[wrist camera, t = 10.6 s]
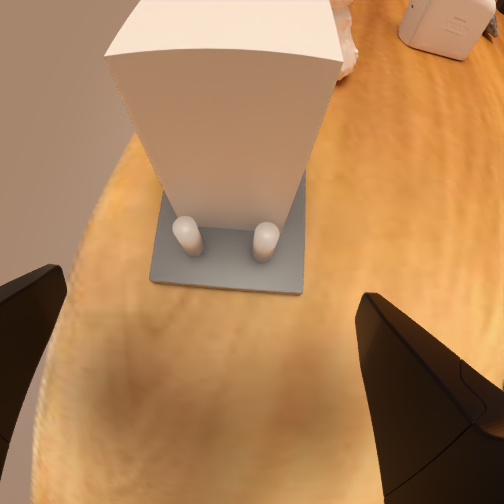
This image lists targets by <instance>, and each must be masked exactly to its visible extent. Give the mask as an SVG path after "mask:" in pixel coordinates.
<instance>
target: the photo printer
mask: <svg viewBox="0 0 504 504" xmlns="http://www.w3.org/2000/svg"><path fill="white" fill-rule="evenodd" d="M495 10H496V3H495V0H410V2H409V5H408V7H407V9H406V12H405V14H404V16H403V19H402V21H401V23H400V26H399V33H398V35H399V38H400V39H401V40H402V41H403V42H404V43H405V44H406V45H408V46H410V47H413V48H416V49H420V50H423V51H427V52H431V53H435V54H438V55H442V56H446V57H449V58H453V59H457V60H464V59H465V58H466V57H467V56H468V54H469V53H470V51H471V50H472V48H473V47H474V45H475V44H476V42H477V41H478V39H479V38H480V36H481V35H482V33H483V31H484V30H485V28H486V27H487V25H488V23H489V22H490V20H491V19H492V17H493V15H494V13H495Z"/></svg>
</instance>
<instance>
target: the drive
mask: <svg viewBox="0 0 504 504" xmlns="http://www.w3.org/2000/svg"><path fill="white" fill-rule="evenodd" d="M104 58H105V60H106V63H107V65H108V68H109V70H110V72H111V75H112V77H113V80H114V82H115V84H116V87H117V89H118V91H119V94H120V96H121V98H122V100H123V103H124V105H125V107H126V110H127V112H128V114H129V116H130V119H131V121H132V123H133V125H134V127H135V130H136V132H137V134H138V136H139V139H140V141H141V143H142V145H143V147H144V149H145V152H146V154H147V156H148V158H149V160H150V162H151V164H152V166H153V168H154V171H155V173H156V175H157V177H158V179H159V181H160V183H161V185H162V187H163V189H164V191H165V193H166V195H167V197H168V199H169V201H170V204H171V206H172V208H173V210H174V212H175V214H176V216H177V218H179V217H181V216H189V217H191V218H193V219H194V220H195V222H196V225H197V227H209V228H222V229H235V230H248V231H255V229H256V227H257V226H258V225H259V224H260V223H263V222H271V223H273V224H275V225H276V226H277V228H278V229H279V233H281V232H282V229H283V226H284V224H285V221H286V218H287V216H288V213H289V210H290V208H291V205H292V203H293V200H294V197H295V195H296V192H297V189H298V187H299V184H300V181H301V178H302V176H303V173H304V170H305V168H306V165H307V162H308V160H309V157H310V154H311V151H312V149H313V146H314V143H315V140H316V138H317V135H318V132H319V129H320V127H321V124H322V121H323V118H324V116H325V113H326V110H327V107H328V104H329V102H330V99H331V96H332V93H333V90H334V88H335V85H336V82H337V79H338V76H339V73H340V70H341V68H342V65H343V57H342V52H341V47H340V43H339V38H338V34H337V29H336V25H335V21H334V17H333V13H332V9H331V5H330V1H329V0H141V1H140V2H139V3H138V5H137V6H136V8H135V9H134V10H133V12H132V13H131V15H130V16H129V18H128V19H127V20H126V22H125V23H124V25H123V26H122V28H121V30H120V31H119V33H118V34H117V36H116V37H115V39H114V40H113V42H112V44H111V45H110V47H109V49H108V50H107V52H106V54H105V55H104Z"/></svg>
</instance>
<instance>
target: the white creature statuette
mask: <svg viewBox="0 0 504 504" xmlns="http://www.w3.org/2000/svg"><path fill="white" fill-rule="evenodd" d="M329 1H330V5H331V9H332V13H333V17H334V21H335V25H336V29H337V34H338V38H339V43H340V47H341V52H342V57H343V65H342V68H341V70H340V73H339V76H338V79H337V80H341V79H342V78H343V77H344V76H347V75H348V74H350V73H352V71H353V68H354V65H355V64H356V63H357V62H356V59H357V57H358V55H357V53H358V52H359V51H358V50H357V49H356V47H355V44H354V42H353V40H352V35H351V30H350V27H351V26H352V22H351V21H352V18H351V14H350V10H349V8H348V7H347V5H349V4H350V3H351V2H352V1H354V0H329Z"/></svg>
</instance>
